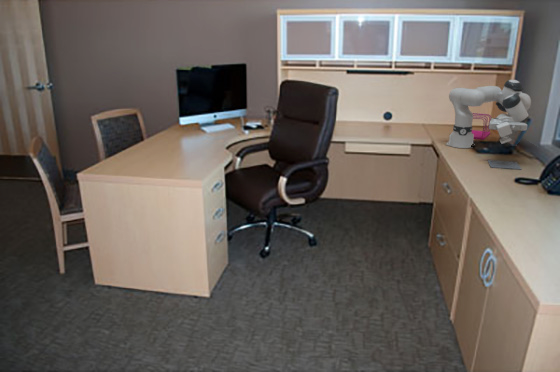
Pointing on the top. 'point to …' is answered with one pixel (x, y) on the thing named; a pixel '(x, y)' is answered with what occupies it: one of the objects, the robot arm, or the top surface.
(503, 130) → the security camera
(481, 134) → the file sorter
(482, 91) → the robot arm
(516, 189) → the top surface
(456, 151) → the top surface
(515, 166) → the desk pad
